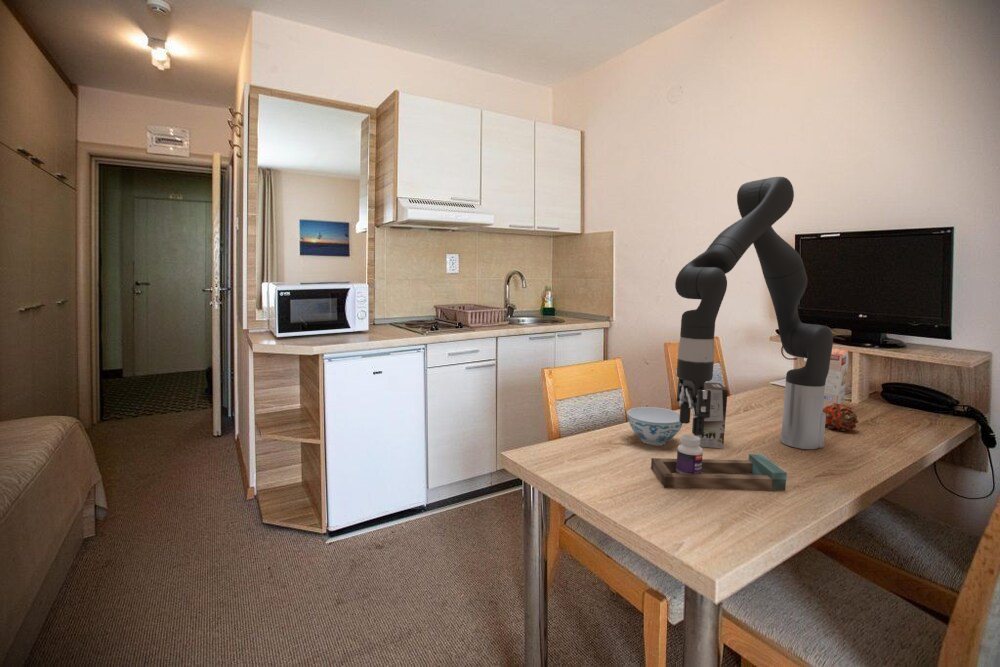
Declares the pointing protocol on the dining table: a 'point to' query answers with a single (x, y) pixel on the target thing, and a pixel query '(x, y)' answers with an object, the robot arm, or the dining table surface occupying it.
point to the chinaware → (654, 424)
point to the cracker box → (836, 377)
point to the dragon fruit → (840, 417)
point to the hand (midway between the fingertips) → (690, 428)
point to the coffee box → (715, 417)
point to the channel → (758, 465)
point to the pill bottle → (689, 455)
